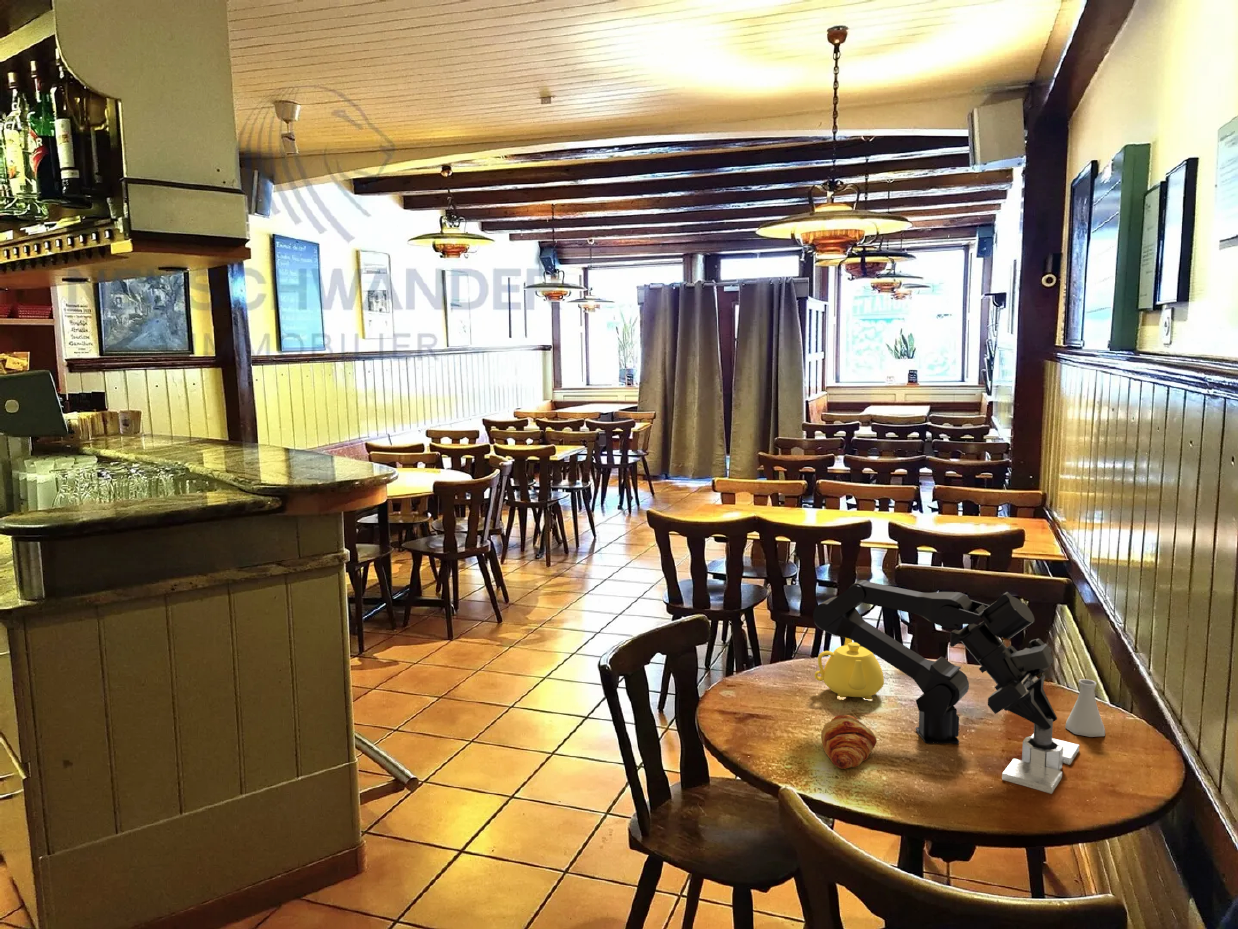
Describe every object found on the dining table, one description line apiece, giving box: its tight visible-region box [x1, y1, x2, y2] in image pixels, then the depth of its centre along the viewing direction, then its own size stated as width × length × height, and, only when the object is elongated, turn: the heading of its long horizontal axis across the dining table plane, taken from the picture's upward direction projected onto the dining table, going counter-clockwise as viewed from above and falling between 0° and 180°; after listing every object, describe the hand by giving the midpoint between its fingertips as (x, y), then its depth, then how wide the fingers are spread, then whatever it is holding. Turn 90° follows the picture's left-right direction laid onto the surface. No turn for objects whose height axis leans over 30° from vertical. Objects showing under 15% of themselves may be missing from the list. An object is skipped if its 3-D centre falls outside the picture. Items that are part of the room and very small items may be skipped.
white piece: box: [1001, 732, 1080, 795], centre depth 156 cm, size 8×20×4 cm, turn 140°
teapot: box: [814, 638, 885, 699], centre depth 189 cm, size 20×15×12 cm
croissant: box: [820, 714, 878, 770], centre depth 163 cm, size 21×10×8 cm, turn 163°
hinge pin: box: [1033, 715, 1054, 750], centre depth 155 cm, size 3×3×9 cm
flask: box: [1064, 678, 1106, 738], centre depth 169 cm, size 7×7×10 cm
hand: (1052, 724), depth 154 cm, fingers open, 4 cm apart
